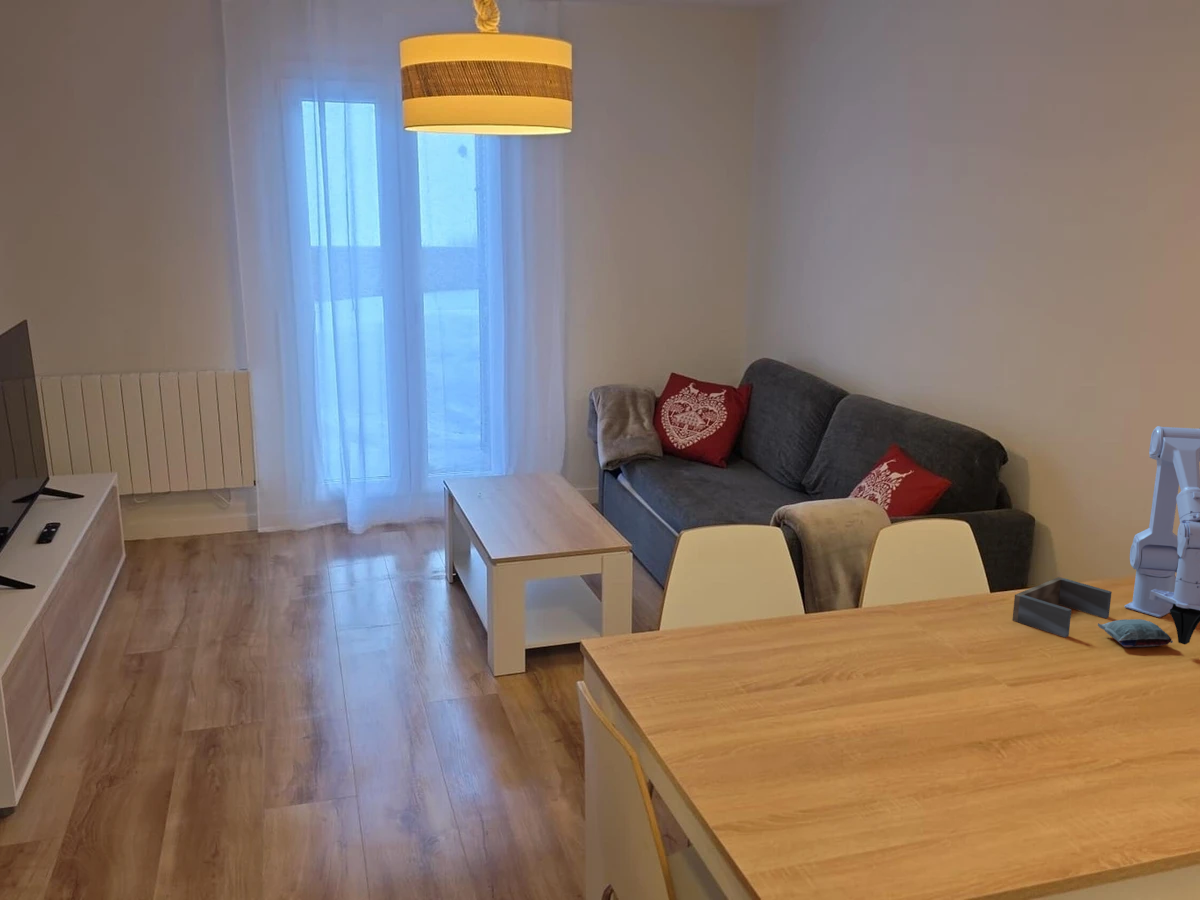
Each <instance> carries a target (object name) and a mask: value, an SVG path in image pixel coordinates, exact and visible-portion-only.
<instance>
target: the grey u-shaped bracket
mask: <svg viewBox="0 0 1200 900" xmlns="http://www.w3.org/2000/svg"><path fill="white" fill-rule="evenodd" d="M1112 593H1113V592H1112V591H1110V590H1108V589H1103V588H1099V587H1096V586H1093V585H1089V584H1086V583H1082V582H1078V581H1076V580H1071V579H1067V578H1064V577H1060V576H1057V577H1055V578H1053V579H1051V580H1047V581H1046V582H1043V583H1041V584H1038V585H1036V586H1033V587H1030V588H1028V589H1026V590H1024V591H1021V592H1018V593H1015V594H1014V601H1013V609H1012V619H1011V620H1012V621H1014V622H1017V623H1019V624H1023V625H1026V626H1029V627H1032V628H1035V629H1036V630H1037V629H1039V630H1041V631H1044V632H1047V633H1051V634H1052V635H1056V636H1060V637H1063V638H1067V637H1069V635H1070V627H1071V626H1070V625H1071V617H1072V610H1077V611H1078V612H1083V613H1086V614H1090V615H1093V616H1096V617H1099V618H1103V619H1108V618H1110V617H1109V616H1110V609H1111V601H1112Z"/></svg>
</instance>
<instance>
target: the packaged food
mask: <svg viewBox="0 0 1200 900" xmlns="http://www.w3.org/2000/svg"><path fill="white" fill-rule="evenodd" d="M1097 626H1098V627H1099V628H1100V629H1102V630H1103V631H1104V632H1105V633H1106V634H1107V635H1109V636H1110V637H1112V638H1113V639H1114V640H1116V641H1117V642H1118V643H1119V644H1120V645H1122V646H1123V647H1124V648H1146V647H1147V648H1149V647H1158V646H1165V645H1168V644H1172V643H1174V642H1173V640H1172V637H1171V636H1170V635H1169V634H1168V633H1167V632H1165V630H1163V629H1162V628H1161V627H1160V626H1159V625H1158V624H1156V623H1155V622H1152V621H1150V620H1146V619H1141V618H1140V619H1139V618H1133V619H1131V618H1130V619H1118V620H1113V621H1108V622H1106V623H1103V624H1100V623H1097Z"/></svg>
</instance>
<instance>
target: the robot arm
mask: <svg viewBox="0 0 1200 900" xmlns="http://www.w3.org/2000/svg"><path fill="white" fill-rule="evenodd" d="M1150 436H1151V437H1150V443H1149V449H1148V451H1149V453H1148V454H1149V458H1150V459H1152V460H1155V461H1156V471H1155V479H1154V487H1153V494H1152V502H1151V510H1150V517H1149V525H1148V528H1146V529H1144V530H1142V531H1140V532H1138V533H1136V534H1134V537H1133V539H1132V543H1131V546H1130V550H1129V551H1130V552H1129V562H1130V566H1131V567H1132V569H1133V570H1136V571H1135V577H1134V578H1135V579H1134V585H1133V586H1134V587H1133V593H1132V594H1133V595H1132V601H1130V602H1128V603H1126V604H1125V605H1124V608H1126V609H1127V610H1133V611H1135V612H1138V613H1143V614H1146V615H1150V616H1153V617H1157V618H1162V617H1164V616H1165V615H1167V614H1170V615H1171V618H1172V620H1173V622H1174V625H1175V629H1176V635H1177V642H1178V644H1182V645H1187V644H1189V643H1190V641H1191V639H1192V636H1193V634H1194V632H1195V629H1196V627H1197V626H1198V625H1199V623H1200V427H1199V428H1195V427H1194V428H1193V427H1171V426H1161V425H1157V426H1156V427H1155V428H1154V429H1153V430H1152V432H1151V435H1150ZM1179 489H1180V492H1179ZM1176 509H1177V510H1176ZM1176 511H1177V512H1178V518H1179V519H1178V520H1179V524H1178V528H1177V535H1176V533H1174V532H1173V531H1174V523H1175V515H1176Z"/></svg>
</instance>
